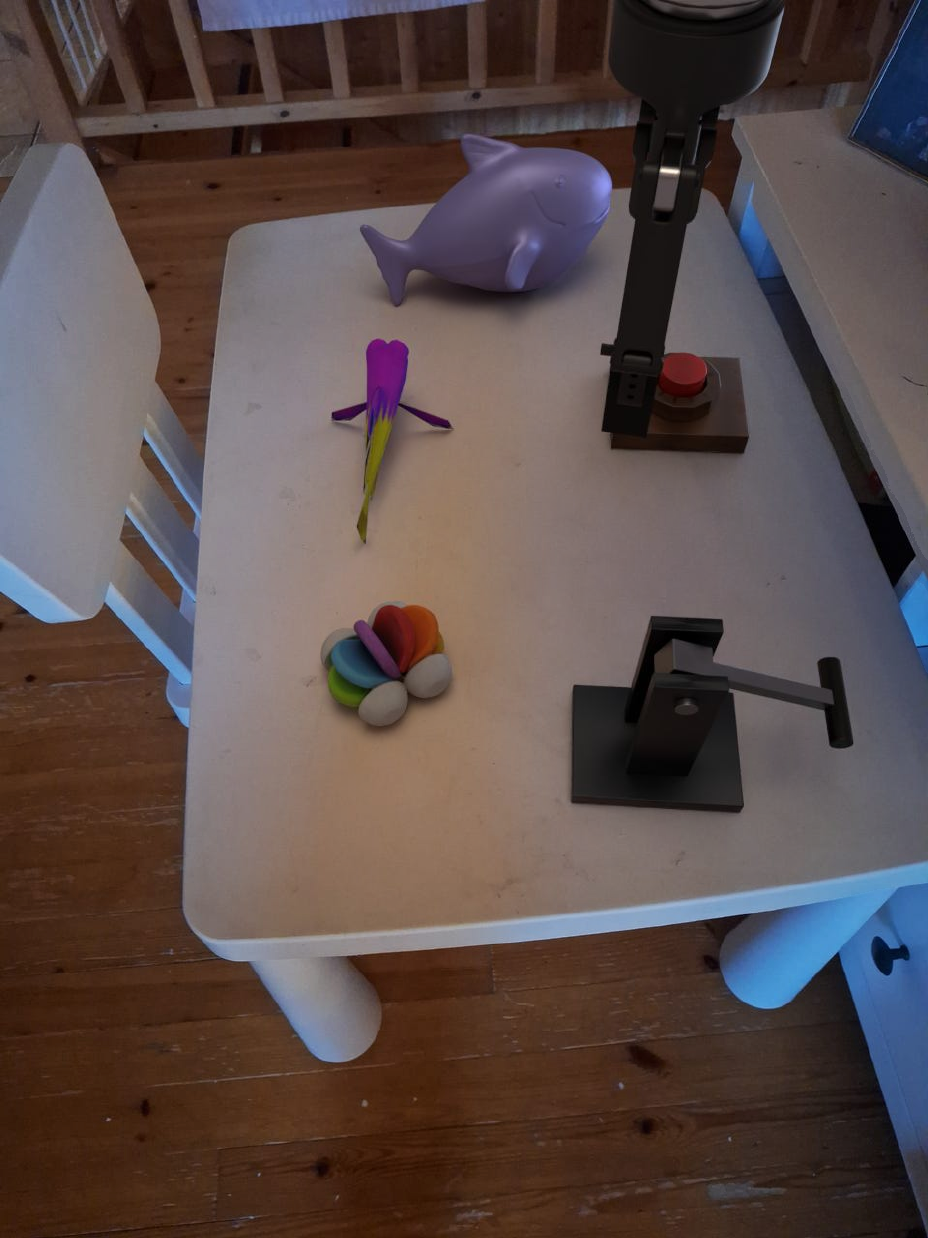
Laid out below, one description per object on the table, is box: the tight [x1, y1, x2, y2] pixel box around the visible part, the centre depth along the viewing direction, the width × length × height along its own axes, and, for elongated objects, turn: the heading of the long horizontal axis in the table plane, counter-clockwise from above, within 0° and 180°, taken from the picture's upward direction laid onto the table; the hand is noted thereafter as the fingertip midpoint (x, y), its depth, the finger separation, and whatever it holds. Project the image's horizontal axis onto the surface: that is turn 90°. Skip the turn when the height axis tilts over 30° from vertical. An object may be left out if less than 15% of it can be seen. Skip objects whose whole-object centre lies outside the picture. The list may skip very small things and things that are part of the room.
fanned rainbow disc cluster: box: [319, 600, 453, 727], centre depth 68 cm, size 8×10×7 cm
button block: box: [608, 352, 750, 454], centre depth 83 cm, size 12×10×4 cm
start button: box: [659, 352, 707, 398], centre depth 81 cm, size 4×4×2 cm
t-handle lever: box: [654, 638, 855, 750], centre depth 57 cm, size 13×6×2 cm, turn 86°
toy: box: [330, 338, 454, 545], centre depth 79 cm, size 12×19×10 cm, turn 173°
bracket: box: [570, 615, 745, 813], centre depth 61 cm, size 12×9×15 cm
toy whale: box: [359, 133, 613, 307], centre depth 89 cm, size 14×25×16 cm, turn 101°
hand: (637, 353), depth 58 cm, fingers open, 13 cm apart
